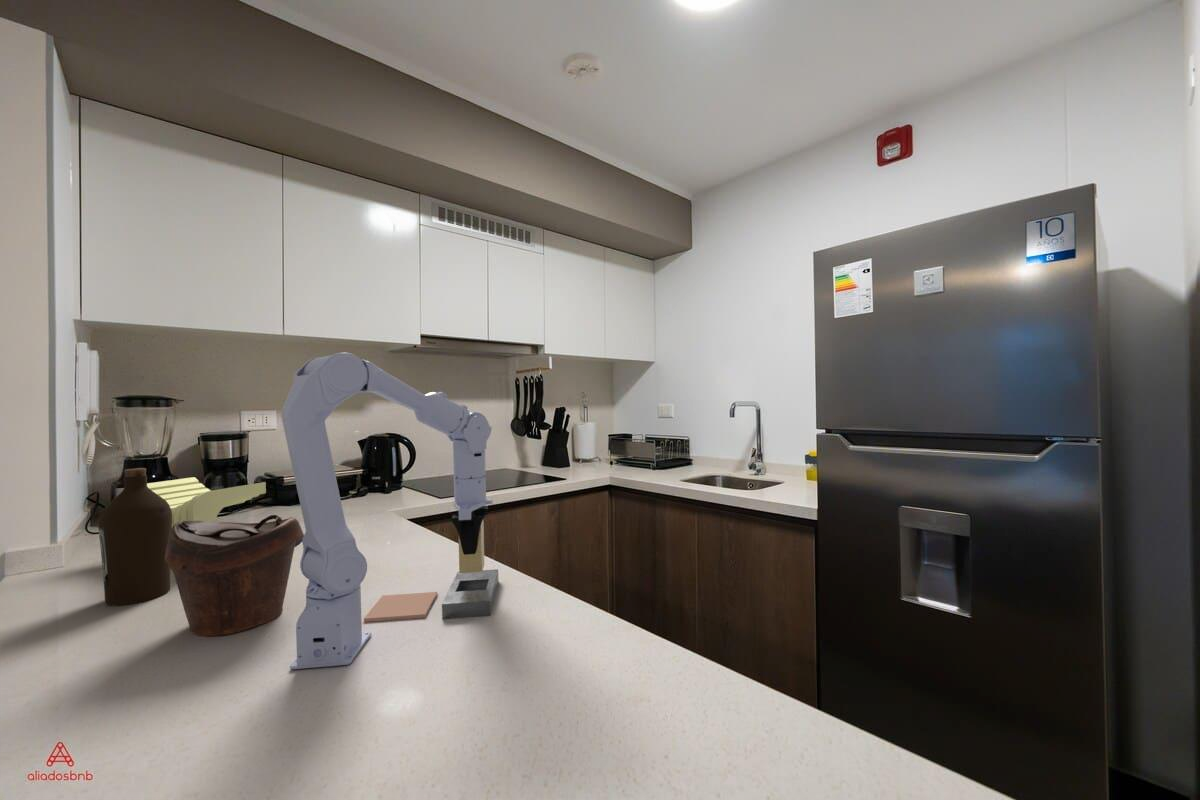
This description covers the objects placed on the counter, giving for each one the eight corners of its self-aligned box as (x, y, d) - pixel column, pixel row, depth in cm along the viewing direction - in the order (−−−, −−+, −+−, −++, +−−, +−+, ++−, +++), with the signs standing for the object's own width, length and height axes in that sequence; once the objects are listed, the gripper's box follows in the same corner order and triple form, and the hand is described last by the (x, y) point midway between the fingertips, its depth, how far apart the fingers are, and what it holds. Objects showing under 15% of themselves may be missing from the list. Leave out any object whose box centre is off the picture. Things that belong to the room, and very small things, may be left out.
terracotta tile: (425, 617, 85) (425, 614, 85) (363, 622, 84) (363, 618, 84) (437, 595, 95) (437, 591, 95) (382, 598, 94) (382, 595, 94)
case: (327, 608, 90) (323, 508, 90) (190, 659, 73) (184, 536, 73) (279, 591, 100) (275, 501, 100) (148, 632, 83) (144, 524, 83)
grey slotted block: (490, 615, 86) (490, 600, 86) (442, 618, 85) (441, 604, 85) (498, 581, 101) (498, 569, 101) (458, 584, 101) (457, 571, 101)
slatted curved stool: (122, 559, 123) (120, 487, 123) (196, 541, 137) (194, 477, 137) (194, 574, 111) (192, 493, 111) (267, 552, 125) (265, 481, 125)
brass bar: (481, 571, 91) (480, 522, 91) (459, 573, 91) (458, 523, 91) (484, 564, 95) (483, 517, 95) (462, 566, 95) (461, 518, 95)
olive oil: (178, 582, 106) (175, 463, 106) (168, 599, 97) (164, 469, 96) (110, 593, 100) (106, 468, 100) (91, 612, 91) (88, 474, 91)
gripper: (487, 482, 86) (489, 561, 86) (495, 470, 101) (497, 538, 101) (445, 483, 85) (447, 563, 85) (459, 471, 100) (460, 540, 100)
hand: (471, 550), depth 93 cm, fingers closed on brass bar, 4 cm apart
